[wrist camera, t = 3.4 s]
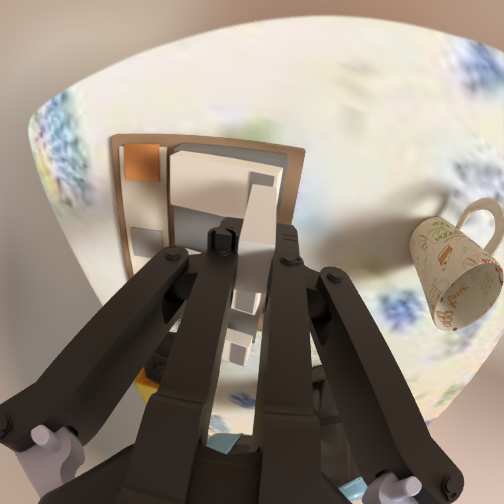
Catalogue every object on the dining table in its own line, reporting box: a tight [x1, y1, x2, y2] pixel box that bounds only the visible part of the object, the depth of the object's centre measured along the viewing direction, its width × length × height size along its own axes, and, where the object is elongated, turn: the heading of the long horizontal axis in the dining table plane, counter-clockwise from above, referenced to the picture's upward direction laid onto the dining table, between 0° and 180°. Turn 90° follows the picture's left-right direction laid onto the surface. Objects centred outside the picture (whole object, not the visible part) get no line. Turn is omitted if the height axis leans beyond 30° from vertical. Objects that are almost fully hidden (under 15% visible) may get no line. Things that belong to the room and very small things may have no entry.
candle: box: [135, 332, 220, 405], centre depth 37 cm, size 10×10×10 cm
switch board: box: [112, 134, 305, 343], centre depth 28 cm, size 23×18×4 cm
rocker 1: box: [170, 151, 283, 219], centre depth 20 cm, size 4×8×2 cm, turn 84°
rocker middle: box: [186, 248, 261, 315], centre depth 25 cm, size 4×8×2 cm, turn 83°
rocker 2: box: [179, 322, 253, 367], centre depth 30 cm, size 4×8×2 cm, turn 84°
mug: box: [409, 198, 504, 331], centre depth 21 cm, size 8×13×10 cm, turn 159°
